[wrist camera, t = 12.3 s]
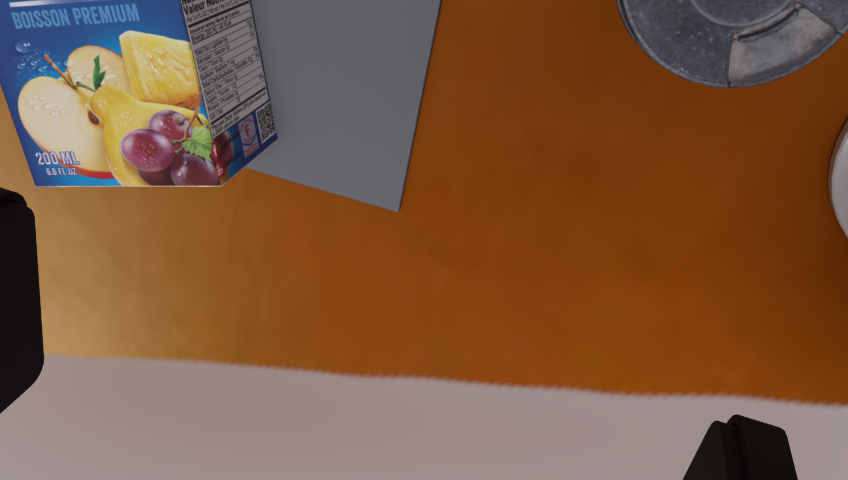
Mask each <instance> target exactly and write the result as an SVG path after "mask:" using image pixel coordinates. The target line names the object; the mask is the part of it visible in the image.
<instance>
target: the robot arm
mask: <svg viewBox="0 0 848 480" xmlns="http://www.w3.org/2000/svg"><path fill="white" fill-rule="evenodd" d="M828 186H829V193H830V201H831V205H832V207H833V210H834V212H835V215H836V217H837V220H838V222H839V224H840V226H841V227H842V229H843V231H844V232H845V234H846V236H847V238H848V120H847V122H846V124H845V126H844V128H843V129H842V131H841V133H840V135H839V137H838V138H837V141H836V144H835V147H834V150H833V153H832V156H831V160H830V167H829V177H828ZM43 364H44V350H43V335H42V320H41V305H40V289H39V274H38V259H37V244H36V229H35V217H34V213H33V211H32V210H31V209H30V208H28V207H27V204H26V201H25V199H24V198H23V196H22V195H20V194H19V193H17V192H13V191H10V190H7V189H4V188H0V413H1V412H3V411H4V410H5V409H6V408H7V407H8V406H9V405H10V404H12V402H14V401H15V400H16V399H17V398H18V397H19V396H20V395H21V394H23V393H24V392H25V391H26V390H27V389H28V388H29V387H30V386H31V385H32V384H33V383H34V382H35V381H36V380H37V378H38V376H39V375H40V373H41V370H42V367H43ZM683 480H798V479H797V475H796V471H795V467H794V462H793V458H792V454H791V450H790V446H789V442H788V438H787V435H786V433H785V431H784V430H783V429H781V428H779V427H776V426H773V425H770V424H767V423H763V422H760V421H757V420H753V419H750V418H747V417H744V416H741V415H733V416H732V417H731V418H730V419H729V420H728V422H727V424H726V423H723V422H720V421H714V422H713V423H712V424H711V426H710V427H709V429H708V431H707V433H706V435H705V437H704V439H703V441H702V443H701V445H700V447H699V449H698V450H697V452H696V454H695V457H694V458H693V461H692V462H691V464H690V466H689V468H688V471H687V472H686V474H685V476H684V478H683Z"/></svg>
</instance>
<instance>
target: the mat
mask: <svg viewBox="0 0 848 480" xmlns="http://www.w3.org/2000/svg"><path fill="white" fill-rule="evenodd" d="M441 1H442V0H251V3H252V8H253V14H254V19H255V24H256V29H257V34H258V40H259V45H260V50H261V55H262V60H263V65H264V71H265V76H266V81H267V86H268V91H269V97H270V102H271V107H272V112H273V117H274V122H275V128H276V133H277V138H278V139H277V141H275V142H274V143H273V144H272V145H271V146H269V147H268V148H267V149H266V150H265V151H263V152H262V153H261V154H260V155H259V156H257V157H256V158H255V159H254V160H253V161H251V162H250V163H249V164H248V165H247V166H245V168H249V169H252V170H255V171H259V172H262V173H266V174H269V175H273V176H276V177H279V178H283V179H286V180H290V181H293V182H296V183H300V184H303V185H307V186H310V187H314V188H317V189H320V190H324V191H327V192H331V193H334V194H338V195H341V196H344V197H348V198H351V199H355V200H358V201H361V202H365V203H368V204H372V205H375V206H379V207H382V208H385V209H389V210H392V211H396V212H398V211H399V210H400V206H401V201H402V196H403V191H404V186H405V181H406V176H407V171H408V166H409V161H410V156H411V151H412V146H413V141H414V136H415V131H416V126H417V121H418V116H419V111H420V106H421V101H422V96H423V91H424V86H425V81H426V76H427V71H428V66H429V61H430V56H431V51H432V46H433V41H434V36H435V31H436V26H437V21H438V16H439V11H440V6H441Z"/></svg>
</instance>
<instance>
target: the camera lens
mask: <svg viewBox="0 0 848 480" xmlns="http://www.w3.org/2000/svg"><path fill="white" fill-rule="evenodd" d="M616 2H617V6H618V10H619V13H620V16H621V18H622V21H623V23H624V25H625V27H626V29H627V30H628V32H629V34H630V36H631V37H632V38H633V39H634V40H635V41H636V43H637V44H638V46H639V47H640V48H641V49H642V50H643V51H644V52H645V53H646V54H647V55H648V56H649V57H650V58H651V59H652V60H654V61H655V62H656V63H658V64H659V65H661V66H662V67H664V68H665V69H667V70H668V71H670V72H672V73H674V74H676V75H677V76H679V77H681V78H683V79H686V80H688V81H691V82H695V83H699V84H702V85H706V86H711V87H718V88H741V87H753V86H756V85H760V84H763V83H767V82H770V81H773V80H776V79H779V78H782V77H784V76H786V75H789V74H791V73H793V72H795V71H797V70H799V69H800V68H802V67H804V66H806V65H808V64H809V63H811V62H813V61H815V60H816V59H817V58H818V57H820V56H821V55H822V54H823V53H825V52H826V51H827V50H828V49H830V48H831V47H832V46H833V45H834V44H835V43H836V42H837V41H838V40H839V39H840V37H841V36H842V35H843V34H844V33H845V32H846V31H847V30H848V0H616Z"/></svg>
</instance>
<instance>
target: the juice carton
mask: <svg viewBox="0 0 848 480" xmlns="http://www.w3.org/2000/svg"><path fill="white" fill-rule="evenodd" d="M0 84H1V87H2V90H3V93H4V96H5V99H6V102H7V105H8V107H9V110H10V113H11V116H12V119H13V122H14V125H15V128H16V131H17V134H18V136H19V139H20V142H21V145H22V148H23V151H24V154H25V157H26V160H27V163H28V165H29V168H30V171H31V174H32V177H33V180H34V183H35V186H36V187H221V186H223V185H224V184H225V183H226V182H227V181H229V180H230V179H231V178H232V177H233V176H235V175H236V174H237V173H238V172H239V171H241V170H242V169H243V168H244V167H245V166H247V165H248V164H249V163H250V162H251V161H253V160H254V159H255V158H256V157H257V156H259V155H260V154H261V153H262V152H263V151H265V150H266V149H267V148H268V147H269V146H271V145H272V144H273V143H274V142H275V141H277V139H278V138H277V133H276V128H275V122H274V117H273V112H272V107H271V102H270V97H269V91H268V86H267V81H266V76H265V71H264V65H263V60H262V55H261V50H260V45H259V40H258V34H257V29H256V24H255V19H254V14H253V8H252V3H251V0H0Z"/></svg>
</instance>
